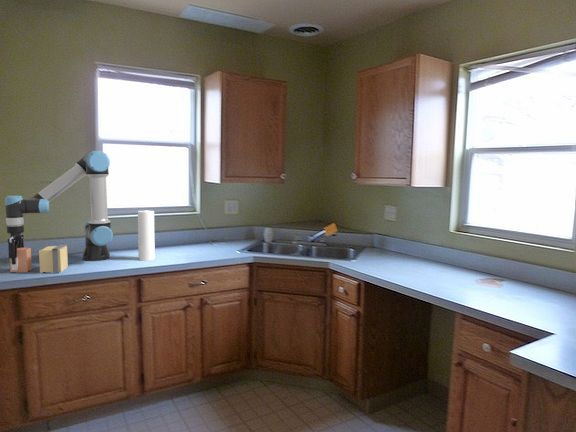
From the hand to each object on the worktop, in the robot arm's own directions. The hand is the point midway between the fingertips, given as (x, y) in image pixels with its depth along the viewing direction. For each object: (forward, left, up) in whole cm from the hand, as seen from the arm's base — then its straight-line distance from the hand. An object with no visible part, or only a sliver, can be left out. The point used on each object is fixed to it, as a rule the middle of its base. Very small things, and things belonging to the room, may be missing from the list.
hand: (17, 268), depth 218 cm
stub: (-2, 0, -1) cm, 2 cm away
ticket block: (-18, 0, -1) cm, 18 cm away
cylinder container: (-63, -22, -2) cm, 66 cm away
